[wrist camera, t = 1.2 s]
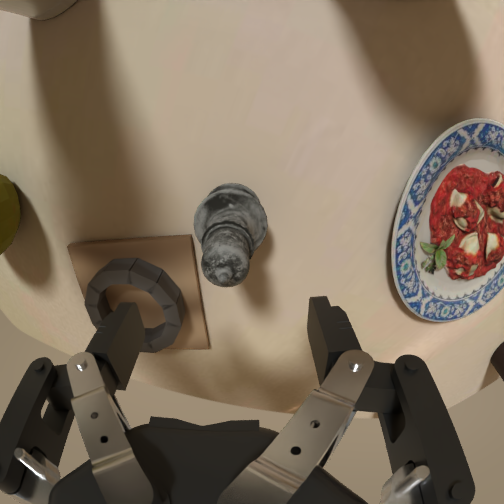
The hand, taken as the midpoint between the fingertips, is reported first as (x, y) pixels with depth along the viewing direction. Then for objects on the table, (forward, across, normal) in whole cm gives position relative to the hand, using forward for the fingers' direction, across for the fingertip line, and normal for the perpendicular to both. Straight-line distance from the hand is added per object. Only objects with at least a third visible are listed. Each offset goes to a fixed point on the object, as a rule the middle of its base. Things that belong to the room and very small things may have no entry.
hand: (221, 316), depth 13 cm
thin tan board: (+15, +11, +9) cm, 21 cm away
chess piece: (+15, 0, 0) cm, 15 cm away
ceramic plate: (+15, -28, +2) cm, 32 cm away
